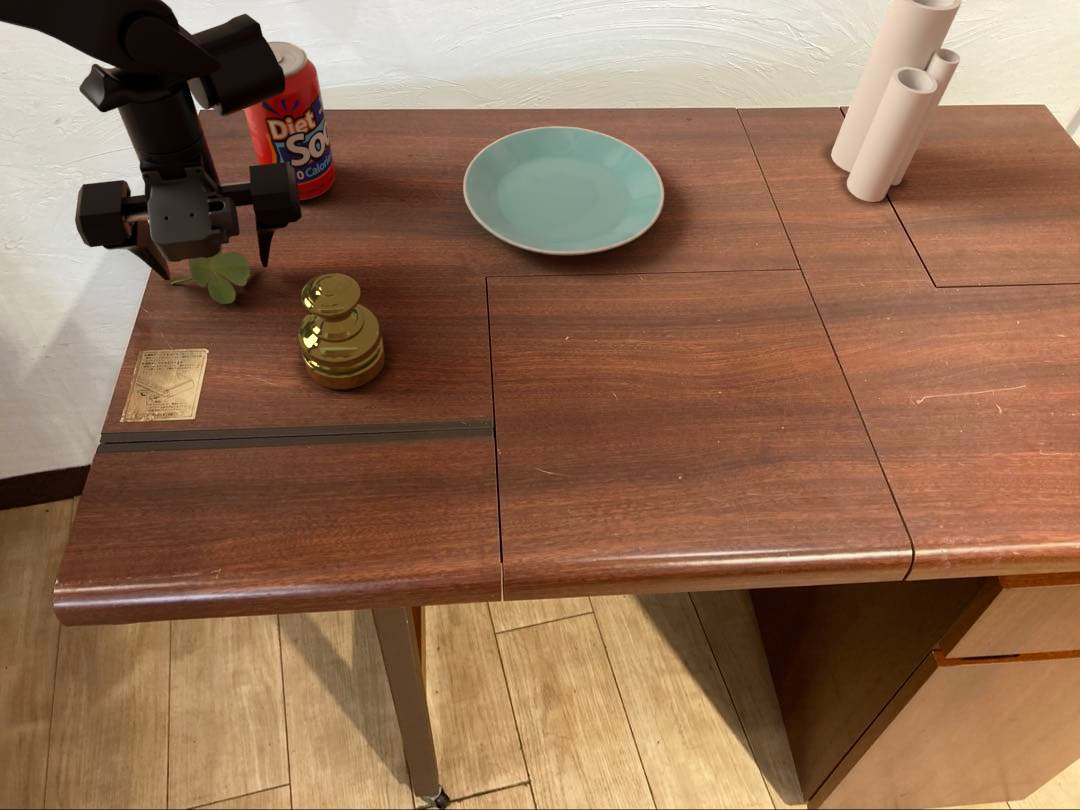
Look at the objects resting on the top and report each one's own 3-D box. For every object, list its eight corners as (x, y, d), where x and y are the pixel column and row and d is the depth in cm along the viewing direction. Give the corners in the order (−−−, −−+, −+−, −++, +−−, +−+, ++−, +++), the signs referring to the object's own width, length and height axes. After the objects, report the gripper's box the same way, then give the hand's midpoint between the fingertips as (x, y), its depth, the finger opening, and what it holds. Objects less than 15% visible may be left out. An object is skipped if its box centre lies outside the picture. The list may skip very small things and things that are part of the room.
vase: (822, 144, 100) (885, -21, 84) (877, 141, 101) (949, -22, 85) (856, 202, 94) (930, 36, 78) (914, 200, 95) (1000, 34, 79)
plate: (430, 238, 86) (428, 218, 84) (507, 127, 99) (507, 106, 97) (628, 297, 83) (631, 277, 80) (681, 173, 95) (686, 153, 93)
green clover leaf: (216, 317, 85) (261, 299, 82) (152, 322, 78) (200, 303, 75) (196, 250, 84) (240, 230, 82) (130, 250, 77) (177, 228, 74)
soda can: (277, 159, 93) (246, 33, 81) (344, 166, 93) (323, 41, 81) (256, 202, 88) (219, 75, 77) (327, 210, 88) (301, 83, 76)
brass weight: (341, 320, 79) (324, 242, 71) (402, 353, 77) (391, 276, 69) (288, 368, 75) (264, 291, 67) (350, 404, 73) (333, 329, 65)
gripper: (35, 209, 61) (112, 345, 74) (288, 180, 65) (320, 315, 77) (50, 124, 68) (118, 262, 80) (279, 102, 71) (310, 238, 83)
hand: (217, 271), depth 80 cm, fingers open, 9 cm apart
